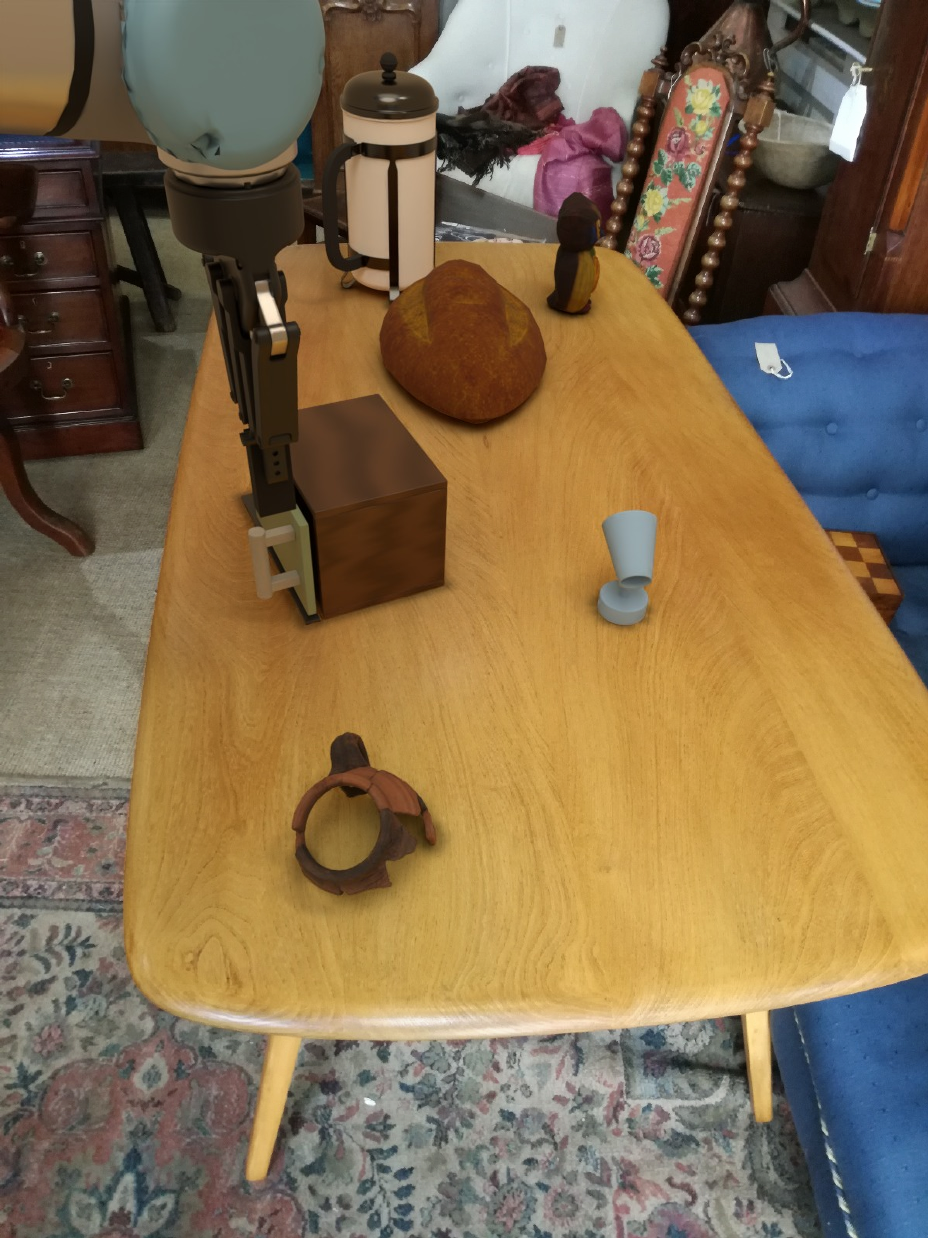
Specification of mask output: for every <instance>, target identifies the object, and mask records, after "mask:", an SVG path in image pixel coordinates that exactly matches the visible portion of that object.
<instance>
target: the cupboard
mask: <svg viewBox="0 0 928 1238" xmlns="http://www.w3.org/2000/svg"><path fill="white" fill-rule="evenodd" d="M298 432H299V436H298V442H295V443H290V444H289V445H290V454H291V463H292V472H293V481H294V490H295V499H296V504H297V506H298V507H299V509H300V511H301V513H302V514H303V516H304V518H305V520H306V521H307V523H308V527H309V537H310V548H311V559H312V570H313V580H314V591H315V602H316V608H317V609H318V610H316V614H312V615H308V614H307V612H306V610H305V608H304V606H303V604H302V602H301V600H300V598H299V597H298V595H297V593H296V591H295V589H294V587H289V588H286V589H287V591H288V593H289V595H290V597H291V598H292V600H293V602H294V604H295V606H296V608H297V610H298V612H299V615H300V616H301V618H302V620H303V622H304V624H305V626H306V625H312V624H314V623H315V624H316V623H318V622H321V619H323V620H328V619H332V618H335V617H338V616H342V615H346V614H349V613H353V612H356V611H359V610H363V609H366V608H371V607H373V606H377V605H380V604H384V603H388V602H391V601H395V600H398V599H402V598H406V597H409V596H413V595H416V594H420V593H424V592H427V591H431V590H433V589H434V590H435V589H438V588H442V587H444V586H445V576H446V575H445V574H446V548H447V547H446V546H447V545H446V543H447V516H448V515H447V514H448V513H447V512H448V484H449V483H448V479H447V478H446V477H445V475H444V473H442V472H441V470H440V469H439V468H438V466H437V465H436V464H435V462H434V461H433V460H432V459H431V458H430V456H429V455H428V454H427V453H426V452H425V450H424V449H423V447H422V446H421V445H420V444H419V442H418V441H417V440H416V438H414V436H413V435H412V434H411V432H410V431H409V430H408V428H407V427H406V426H405V425H404V424H403V422H402V421H401V420H400V419H399V417H398V416H397V415H396V413H395V412H394V411H393V410H392V409H391V407H390V406H389V404H388V403H387V402H386V401H385V399H383V397H382V396H381V394H380V393H374V394H369V395H364V396H360V397H359V396H358V397H354V398H349V399H344V400H339V401H334V402H328V403H324V404H318V405H314V406H309V407H304V408H300V409H299V408H298ZM240 499H241V500H242V501H241V502H242V503H243V504H244V507H245V509H246V511H247V513H248V514H249V517H250V518H251V521H252V523H253V524H254V527H262V525H261V523H260V521H259V519H258V518H257V514H256V508H255V506H254V499H253V493H247V494H243V495H240ZM262 528H263V527H262ZM267 548H268V555H270V556H269V557H271V560H272V562H273V563H274V565H275V567H276V569H277V571H278V572H279V573H278V574H281V573H285V572H286V571H285V570H284V568H283V566H282V564H281V562H280V560H279V558H278V556H277V554H276V552H275V550H274V548H273V546H269V547H267ZM318 611H319V613H320V615H321V617H322V618H321V617H320V615H319V613H318Z"/></svg>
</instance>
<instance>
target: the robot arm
mask: <svg viewBox="0 0 928 1238" xmlns="http://www.w3.org/2000/svg"><path fill="white" fill-rule="evenodd" d="M325 31H326V30H325V23H324V17H323V13H322V9H321V5H320V2H319V0H0V135H17V136H18V135H19V136H20V135H21V136H37V137H52V138H58V139H65V140H85V141H106V142H107V141H108V142H128V143H129V142H130V143H131V142H132V143H140V144H147V145H152V146H156V150H157V154H158V159H159V160H160V161H161V163H162V164H164V165H165V166H166V167H168V168H167V169H166V171H165V173H164V174H163V176H162V177H163V183H164V189H165V195H166V201H167V207H168V212H169V213H168V214H169V218H170V223H171V229H172V232H173V235H174V237H175V239H176V240H177V241H178V242H179V243H180V244H181V245H183V246H184V247H186V248H187V249H189V250H190V251H194V252H196V253H199V254H201V258H200V261H201V266H202V267H203V268H204V271H205V275H206V280H207V283H208V284H207V285H208V287H209V292H210V296H211V301H212V305H213V310H214V315H215V321H216V326H217V330H218V335H219V340H220V345H221V350H222V356H223V361H224V365H225V371H226V376H227V380H228V385H229V390H230V391H229V397H230V399H231V401H232V402H233V404H234V405H236V404H237V406H238V419H239V420H240V421H241V423H242V425H243V426H246V425H248V428H247V427H246V428H244V429H243V432H239V433H238V436H239V439H240V442H241V445H242V447H245V451H246V452H245V453H246V458H247V465H248V472H249V478H250V484H251V492H252V493H253V499H254V506H255V508H256V510H257V512H258V514H259V516H260V518H262V517H266V516H270V515H275V514H279V513H283V512H287V511H291V510H295V509H297V508H296V499H295V490H294V481H293V472H292V463H291V454H290V445H289V444H290V443H295V442H298V436H299V432H298V410H299V395H298V394H299V386H298V385H299V383H298V381H299V380H298V378H299V377H298V353H299V349H300V345H301V336H302V331H301V328H300V327H299V324H298V323H297V321H296V320H291V321H287V314H286V312H287V311H286V303H287V302H288V299H289V294H288V293H289V291H288V283H287V279H286V275H285V273H284V270H282V269H280V270H279V269H278V265H277V263H276V257H277V256H278V254H279V253H280V252H281V251H282V250H284V249H285V248H287V247H290V246H292V245H293V244H294V243H296V242H297V241H299V239H300V238H301V237H302V235H303V232H304V231H305V214H304V201H303V191H302V190H303V189H302V178H301V171H300V169H299V167H297V166H296V165H295V163H294V162H293V161H294V160H295V158H296V157H297V155H298V138H299V137H300V136H301V135H302V133H303V132H304V130H305V128H306V127H307V125H308V124H309V122H310V120H311V118H312V116H313V113H314V112H315V109H316V106H317V103H318V101H319V98H320V94H321V90H322V84H323V76H324V75H323V73H324V72H323V71H324V69H325V68H326V67H325V66H326V62H325V61H326V59H325V51H326V32H325Z"/></svg>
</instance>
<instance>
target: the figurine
mask: <svg viewBox="0 0 928 1238" xmlns="http://www.w3.org/2000/svg"><path fill="white" fill-rule="evenodd" d="M557 213H558V214H557V221H556V228H555V229H556V237H557V239H558V243H559V246H558V248H557V251H556V254H555V255H556V256H555V262H554V268H553V278H554V279H553V280H554V289H553V291H552V292H551V293H550V294H549V295H548V296H547V297H546V303H547V305H548V306H549V307H551V308H553V309H556V310H558V311H562V312H566V313H569V314H575V315H577V314H587V313H589V312H590V310H591V309H592V306H591V305H592V300H591V296H592V294H593V293H594V292H595V291H596V289H597V287H598V283H599V279H600V274H601V263H600V260H599V258H598V257H597V251H596V249H595V245H596V244H597V242H598V241H599V240H600V239H602V238H604V237H605V236H606V234H605V231H604V230H603V229H602V223H603V221H602V220H603V219H602V215H601V211H600V209H599V207H598V206H597V204H596V203H595V202H594V201H593V200H591V199H590V198H589V197H587V196H586V195H585V194H584V193H582V192H580V191H579V192H578V191H574V192H572V193H571V194H569V195H568V196H567V197H566V198H565V199H563V200H562V203H561V206H560V208H559V210H558V212H557Z"/></svg>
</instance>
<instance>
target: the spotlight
mask: <svg viewBox="0 0 928 1238" xmlns="http://www.w3.org/2000/svg"><path fill="white" fill-rule="evenodd" d="M601 529H602V532H603V535H604V538H605V543H606V547H607V549H608V552H609V556H610V560H611V563H612V566H613V569H614V573H615V576H616V579H615V580H610V581H608V582H606V583H604V584H603V585H602V586H601V588H600V590H599V595H598V599H597V605H596V606H597V607H596V608H597V611H598V613H599V615H600V616H601V617H602V618H603V619H604V620H606V621H608V623H609V622H610V623H612V624H615V625H620V626H632V625H635V624H639V623H640V622H641V621H642V620H644V618H645V616H646V612H647V609H648V604H649V594H648V592H647V591H646V590H645V587H648V586H650V585H651V584H652V582H653V575H654V562H655V555H656V553H655V552H656V542H657V531H658V517H657V515H655V514H654V513H652V512H649V511H646V510H640V509H630V510H624V511H623V510H622V511H619V512H615V513H613V514H611V515H609V516H607V517H606V518H605V519H604V520H603V521H602V523H601Z"/></svg>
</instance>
